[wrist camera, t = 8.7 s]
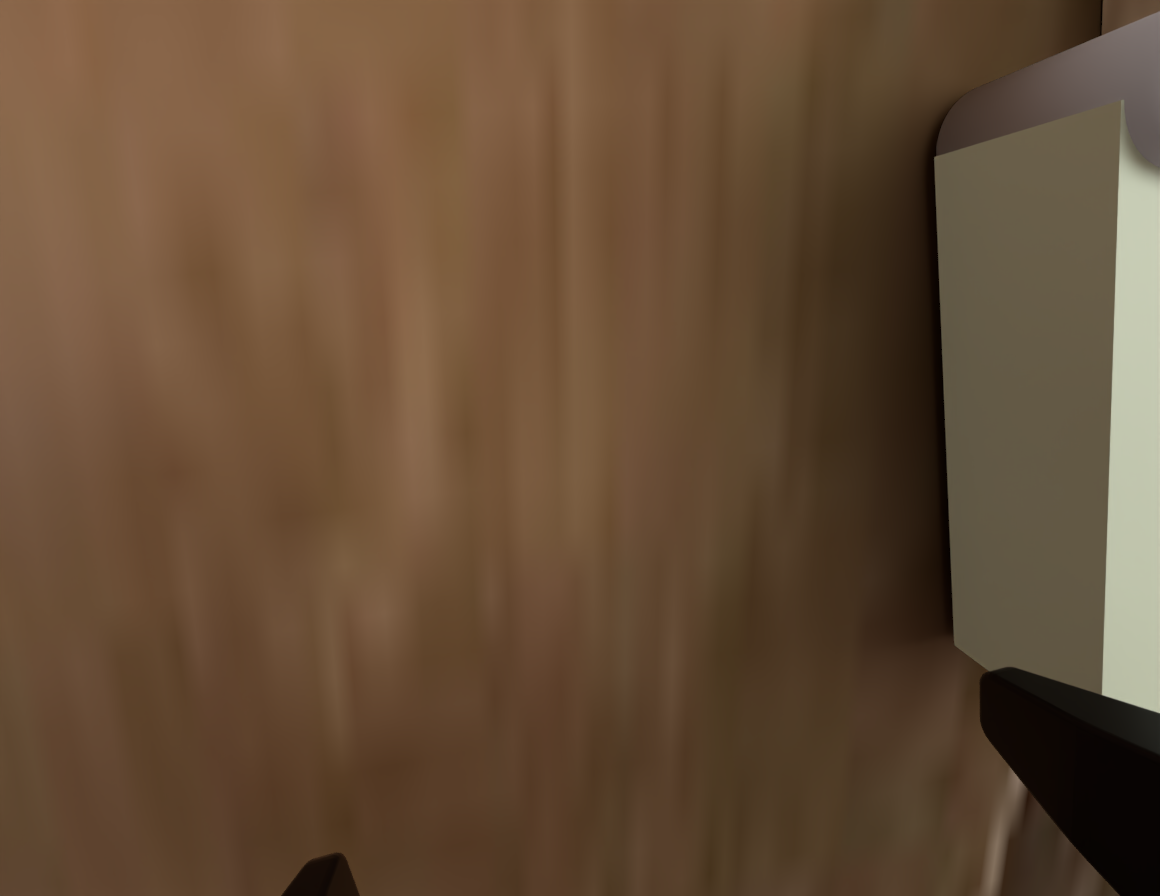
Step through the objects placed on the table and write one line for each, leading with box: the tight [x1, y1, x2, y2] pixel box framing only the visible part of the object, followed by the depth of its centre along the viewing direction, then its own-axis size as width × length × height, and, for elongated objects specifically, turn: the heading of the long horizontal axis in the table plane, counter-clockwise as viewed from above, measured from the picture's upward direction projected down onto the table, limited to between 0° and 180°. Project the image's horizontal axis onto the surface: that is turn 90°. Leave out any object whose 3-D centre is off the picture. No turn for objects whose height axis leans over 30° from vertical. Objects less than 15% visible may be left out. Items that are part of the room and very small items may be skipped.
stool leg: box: [934, 11, 1160, 713], centre depth 13 cm, size 13×2×4 cm, turn 11°
